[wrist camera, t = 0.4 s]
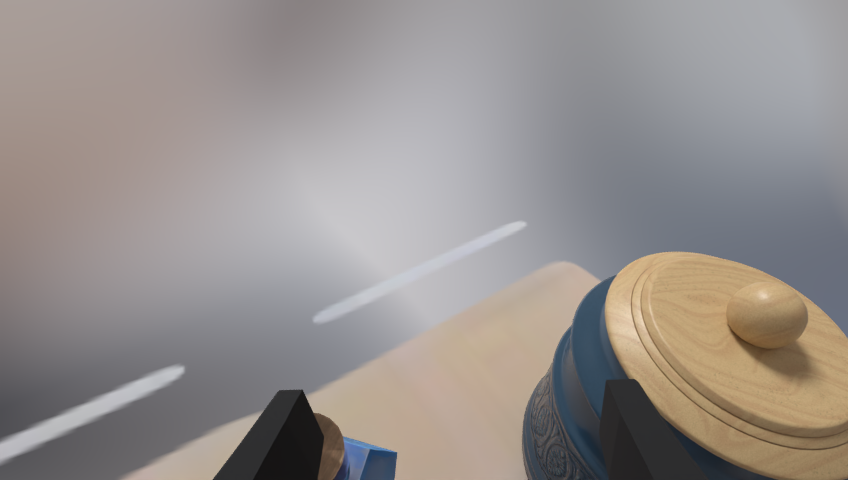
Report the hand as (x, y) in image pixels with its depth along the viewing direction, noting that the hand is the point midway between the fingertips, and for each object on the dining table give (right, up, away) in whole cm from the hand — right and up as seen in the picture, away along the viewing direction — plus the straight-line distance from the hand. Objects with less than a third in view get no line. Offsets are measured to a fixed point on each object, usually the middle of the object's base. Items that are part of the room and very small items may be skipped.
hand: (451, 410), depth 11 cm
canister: (+12, -11, +19) cm, 25 cm away
